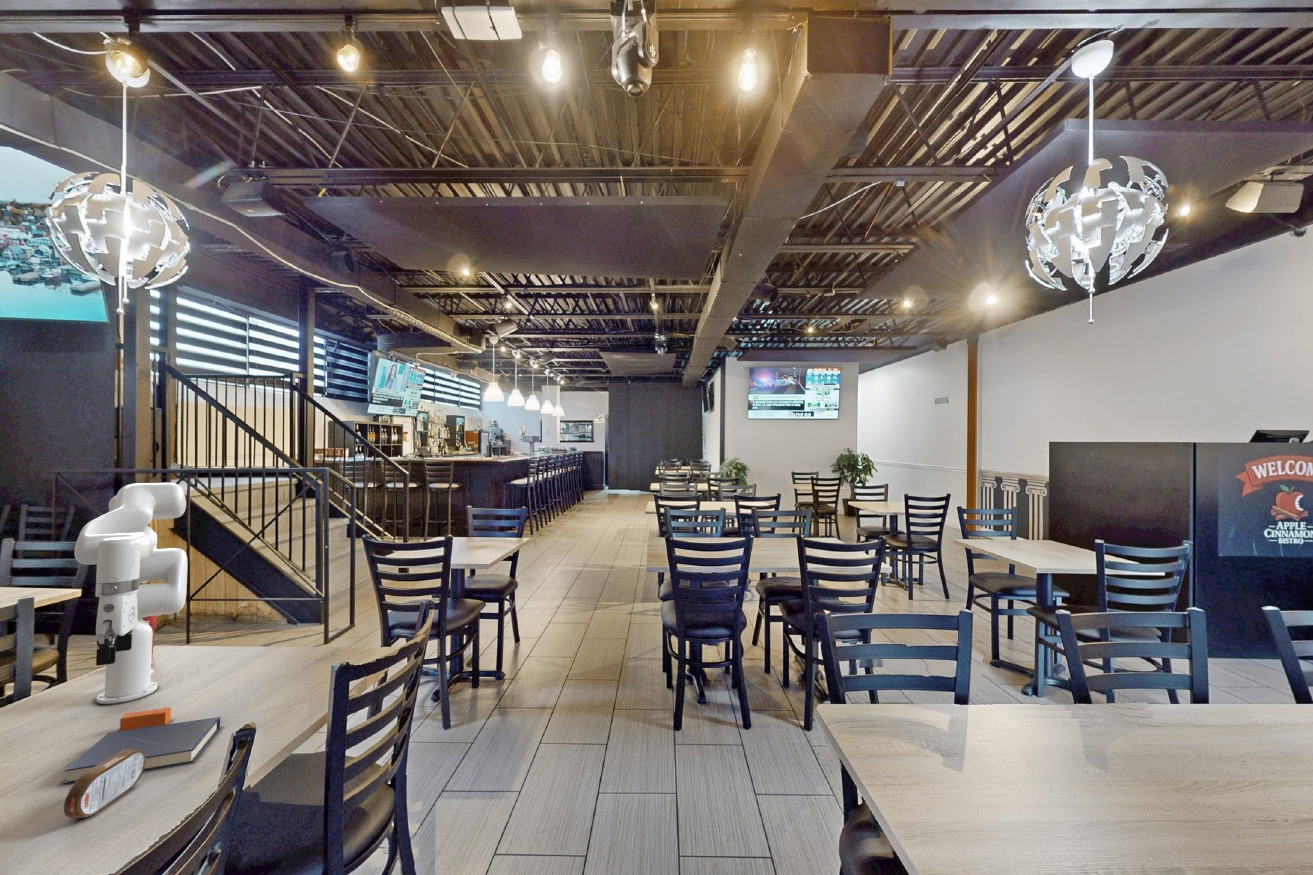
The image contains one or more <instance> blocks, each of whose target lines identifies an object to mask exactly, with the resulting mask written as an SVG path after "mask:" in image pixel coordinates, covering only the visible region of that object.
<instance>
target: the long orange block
mask: <svg viewBox="0 0 1313 875" xmlns="http://www.w3.org/2000/svg"><path fill="white" fill-rule="evenodd" d="M171 713H172V707H165V708H164V707H163V708H156V709H148V710H140V711H133V712H127V713H125V714H124V715H123V716H122V717H120V719H119V731H126V730H133V729H140V728H146V727H153V726H160V725H167V724H170V722H171V716H172V714H171Z"/></svg>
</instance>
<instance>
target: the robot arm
mask: <svg viewBox="0 0 1313 875" xmlns="http://www.w3.org/2000/svg"><path fill="white" fill-rule="evenodd" d="M186 508H187V498H186V494H185V490H184V489H183V487H182V486H181V485H179V484H177V483H174V482H140V483H139V482H138V483H130V484H127V485H125V486H122V487H121V488H120V489H119V490H118V492H117V493H116V495H114V496H113V497H111V498H110V500H109V501H108V512H106V513H104V514H102V515H100V516H98V517H96V518H93V519H92V520H90V521H88V522H87V523H86V524H84V525H83V527H82V529H81V530H80V532H79V534H78V537H77V540H76V542H75V546H74V550H73V552H74V553H73V555H74V558H75V560H76V562H77V563H79V564H80V565H86V566H91V565H93V566H94V565H96V573H95V574H96V575H95V577H96V578H95V593H94V594H95V597H96V598H99V599H98V606H97V614H96V622H95V623H96V625H95V635H96V639H97V640H96V647H95V648H96V655H95V656H96V658H95V665H96V666H98V667H99V666H105V677H104V690H103V691H102V692H101V693H99V694H98V695H97V696H96V703H98V704H101V705H111V704H120V703H126V702H130V701H134V700H137V699H139V698H140V699H141V698H143V697H146V696H148V695H150V694H153V692H155V691H156V690H157V689H158V683H157V682H155V681H152V680H151V679H152V678H151V676H152V675H153V674H154V669H153V668H152V664H151V660H152V638H153V631H152V628H151V627H150V625H149V624H148V623H146V622H145V621H144V620H143V619H141V618H143V617H148V616H156V615H157V616H162V615H170V614H175V613H179V612H180V611H181V610H183V608H184V607H185V605H186V600H187V590H188V589H187V587H188V586H187V585H188V567H189V566H188V564H189V562H188V555H187V552H186V550H184V549H183V548H179V547H169V548H158V547H157V546H158V534H157V532H156V531H154V530H153V529H152V528H151V527H150V526H149V525H150V524H151V523H152V521H153V520H169V519H170V520H171V519H177V518H181V517H182V516H183V515H184V513H185V512H186ZM164 580H165V581H164ZM145 581H149V582H154V581H155V582H154V583H149V584H142V585H139V582H145ZM156 581H163V582H156Z"/></svg>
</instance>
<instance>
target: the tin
mask: <svg viewBox="0 0 1313 875" xmlns="http://www.w3.org/2000/svg"><path fill="white" fill-rule="evenodd" d="M145 761H146V754H145V753H144V752H143V751H141V750H132V749H125V750H123V751H121V752H119V753H117V754H116V755H114V756H112V757H111V758H109V759H107V760H106V761H104V762H102V763H100V764H99V765H97V766H95V767H94V768H92V769H90V770H89V771H87V772H85V773H84V774H83V775H82V776H81V777H80V778H79V779H78V780H77V781H76V782H75V783H73V785H72V786H71V787H70V789H69V791H68V793H67V795H66V797H65V800H64V804H63V813H64V816H66V817H67V818H69V819H75V818H77V819H79V818H80V819H81V818H84V819H85V818H89V817H91V816H93V815H96V814H97V813H98V812H100V811H102V810H103V809H104V808H106V807H107V806H109V805H110V804H111V803H113V802H115V801H116V800H117V799H119V798H120V797H122V796H123V795H125V794H126V793H128V792H129V791H130V790H131V789H133V788H134V787H135V786H136V784H137V783H138V781H139V780H140V779H141V777H142V775H143V773H144V772H145V771H144V766H145Z"/></svg>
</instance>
